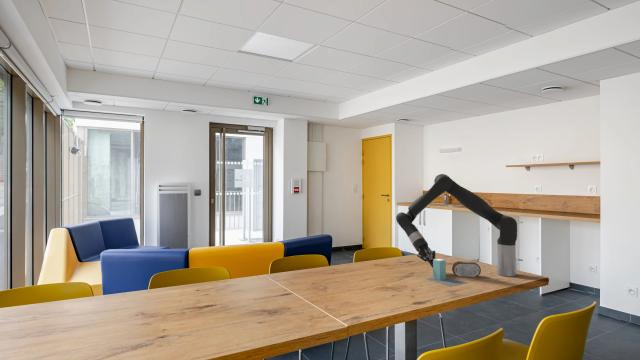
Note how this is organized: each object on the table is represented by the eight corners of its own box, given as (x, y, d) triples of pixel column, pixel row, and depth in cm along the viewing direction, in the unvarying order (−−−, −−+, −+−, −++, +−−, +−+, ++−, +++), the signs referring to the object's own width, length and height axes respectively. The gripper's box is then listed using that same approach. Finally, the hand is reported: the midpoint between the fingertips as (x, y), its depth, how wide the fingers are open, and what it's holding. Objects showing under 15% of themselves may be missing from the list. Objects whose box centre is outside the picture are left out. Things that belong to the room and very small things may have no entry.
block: (439, 277, 198) (439, 258, 198) (445, 279, 194) (445, 259, 194) (433, 278, 196) (433, 259, 196) (439, 280, 192) (439, 260, 192)
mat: (442, 276, 202) (442, 275, 202) (468, 283, 187) (468, 282, 187) (424, 279, 195) (424, 278, 195) (450, 287, 180) (450, 286, 180)
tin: (479, 276, 202) (479, 261, 202) (481, 278, 199) (481, 262, 199) (451, 276, 204) (451, 260, 204) (453, 277, 200) (453, 262, 201)
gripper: (413, 238, 203) (429, 264, 192) (429, 236, 210) (447, 261, 199) (406, 246, 208) (422, 272, 197) (423, 244, 214) (439, 269, 203)
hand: (434, 266), depth 198 cm, fingers closed
